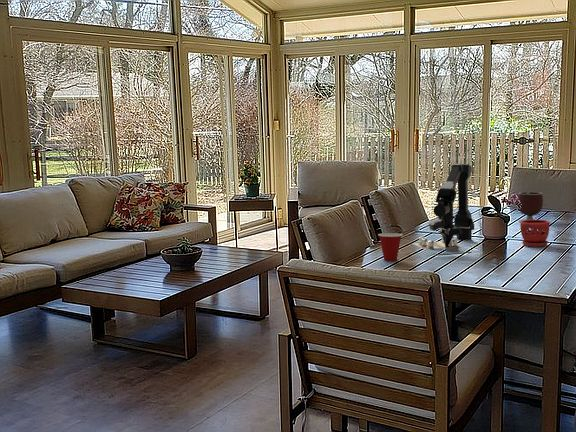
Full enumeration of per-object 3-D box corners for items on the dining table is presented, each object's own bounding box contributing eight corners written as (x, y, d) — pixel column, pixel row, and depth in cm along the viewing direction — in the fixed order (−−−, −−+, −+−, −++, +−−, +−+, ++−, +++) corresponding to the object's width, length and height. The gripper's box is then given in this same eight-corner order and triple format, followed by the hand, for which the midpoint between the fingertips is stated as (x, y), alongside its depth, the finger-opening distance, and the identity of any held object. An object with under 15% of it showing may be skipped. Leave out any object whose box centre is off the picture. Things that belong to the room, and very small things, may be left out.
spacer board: (449, 243, 323) (449, 240, 322) (463, 248, 308) (463, 246, 308) (412, 245, 319) (412, 243, 319) (424, 251, 304) (424, 249, 304)
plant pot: (549, 243, 314) (550, 219, 312) (548, 248, 302) (548, 223, 300) (521, 242, 319) (521, 218, 318) (518, 247, 308) (519, 222, 306)
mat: (461, 248, 308) (461, 248, 308) (471, 252, 298) (471, 252, 298) (426, 251, 304) (426, 250, 304) (435, 255, 295) (435, 254, 295)
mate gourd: (521, 219, 387) (521, 186, 384) (545, 221, 379) (545, 187, 376) (513, 223, 374) (513, 189, 371) (537, 224, 366) (538, 190, 363)
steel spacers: (447, 241, 321) (447, 234, 320) (460, 246, 308) (460, 239, 307) (416, 243, 318) (416, 236, 317) (427, 248, 305) (427, 241, 304)
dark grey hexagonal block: (454, 249, 304) (454, 244, 303) (461, 252, 298) (461, 247, 298) (441, 251, 302) (441, 246, 301) (448, 253, 296) (448, 248, 296)
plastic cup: (404, 257, 293) (404, 231, 291) (400, 262, 283) (400, 236, 281) (380, 256, 296) (380, 231, 295) (376, 261, 286) (375, 235, 285)
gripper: (422, 212, 308) (422, 244, 311) (439, 217, 290) (439, 251, 292) (444, 210, 310) (444, 242, 313) (462, 216, 292) (461, 249, 295)
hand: (446, 246), depth 303 cm, fingers closed
